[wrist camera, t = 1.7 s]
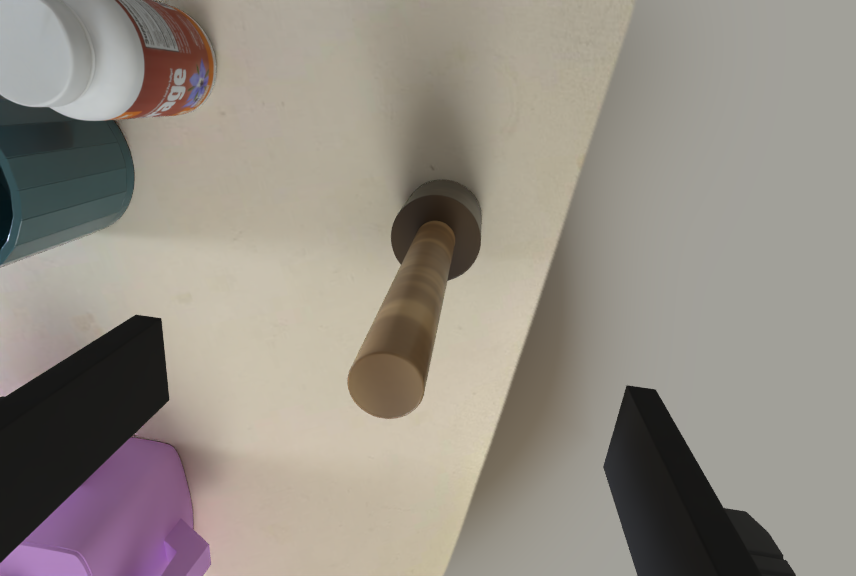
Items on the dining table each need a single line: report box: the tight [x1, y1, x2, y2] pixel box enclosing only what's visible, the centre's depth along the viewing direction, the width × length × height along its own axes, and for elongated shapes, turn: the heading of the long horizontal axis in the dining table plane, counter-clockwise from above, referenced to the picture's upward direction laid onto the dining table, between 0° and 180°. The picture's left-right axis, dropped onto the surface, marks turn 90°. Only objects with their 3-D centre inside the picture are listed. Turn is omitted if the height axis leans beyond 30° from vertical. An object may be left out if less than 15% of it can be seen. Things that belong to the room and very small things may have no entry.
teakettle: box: [0, 437, 211, 576], centre depth 39 cm, size 17×17×12 cm
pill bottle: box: [0, 0, 216, 121], centre depth 26 cm, size 6×6×11 cm
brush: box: [348, 180, 482, 419], centre depth 24 cm, size 5×5×20 cm
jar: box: [0, 95, 134, 268], centre depth 30 cm, size 10×10×9 cm
